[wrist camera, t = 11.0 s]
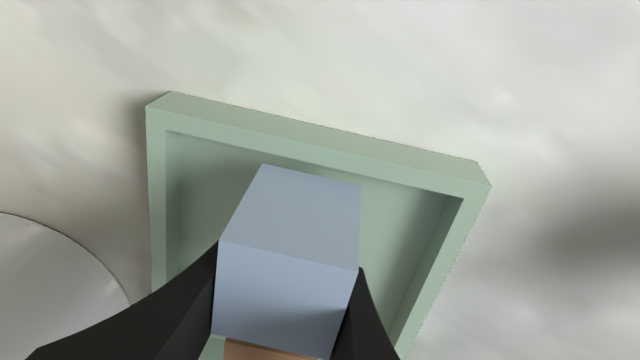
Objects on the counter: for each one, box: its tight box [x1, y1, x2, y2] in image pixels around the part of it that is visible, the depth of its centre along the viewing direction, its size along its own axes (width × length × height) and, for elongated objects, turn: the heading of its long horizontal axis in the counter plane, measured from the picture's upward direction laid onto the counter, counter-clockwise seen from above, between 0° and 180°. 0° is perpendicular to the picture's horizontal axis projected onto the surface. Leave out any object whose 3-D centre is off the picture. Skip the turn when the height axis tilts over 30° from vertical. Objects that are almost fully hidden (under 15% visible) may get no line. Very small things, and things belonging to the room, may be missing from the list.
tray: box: [145, 91, 492, 360], centre depth 19 cm, size 16×14×2 cm
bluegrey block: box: [211, 163, 360, 360], centre depth 13 cm, size 4×4×5 cm
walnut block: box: [223, 337, 318, 360], centre depth 19 cm, size 4×4×5 cm
